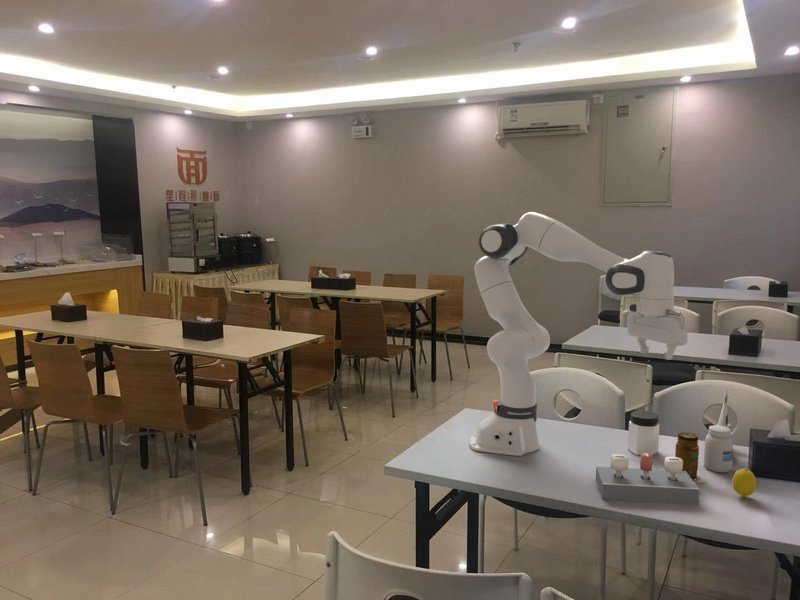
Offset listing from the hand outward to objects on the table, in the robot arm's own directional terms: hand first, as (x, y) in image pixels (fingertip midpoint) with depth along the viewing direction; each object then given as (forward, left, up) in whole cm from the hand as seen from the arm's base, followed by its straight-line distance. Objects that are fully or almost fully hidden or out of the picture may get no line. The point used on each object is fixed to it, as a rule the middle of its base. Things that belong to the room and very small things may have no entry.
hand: (656, 356), depth 182 cm
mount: (-5, -15, -34) cm, 38 cm away
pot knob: (-5, -15, -32) cm, 35 cm away
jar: (+1, +15, -35) cm, 38 cm away
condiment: (+9, -3, -35) cm, 36 cm away
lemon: (+20, -15, -35) cm, 43 cm away
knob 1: (-12, -15, -32) cm, 37 cm away
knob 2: (+2, -15, -32) cm, 35 cm away
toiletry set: (+23, +13, -35) cm, 44 cm away
